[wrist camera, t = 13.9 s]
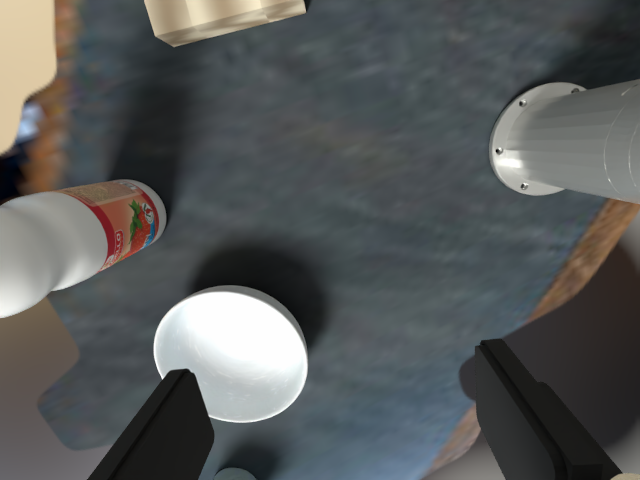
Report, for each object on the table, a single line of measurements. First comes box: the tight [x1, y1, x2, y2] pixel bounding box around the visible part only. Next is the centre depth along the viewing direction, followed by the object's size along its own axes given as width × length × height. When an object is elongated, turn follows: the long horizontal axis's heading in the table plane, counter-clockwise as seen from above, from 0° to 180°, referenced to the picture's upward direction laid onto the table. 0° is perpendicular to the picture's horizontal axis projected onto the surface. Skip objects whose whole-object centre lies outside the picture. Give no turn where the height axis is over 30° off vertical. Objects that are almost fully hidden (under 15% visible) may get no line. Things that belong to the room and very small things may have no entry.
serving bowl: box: [154, 285, 308, 422], centre depth 45 cm, size 21×21×7 cm
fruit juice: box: [0, 179, 166, 318], centre depth 30 cm, size 9×9×28 cm
